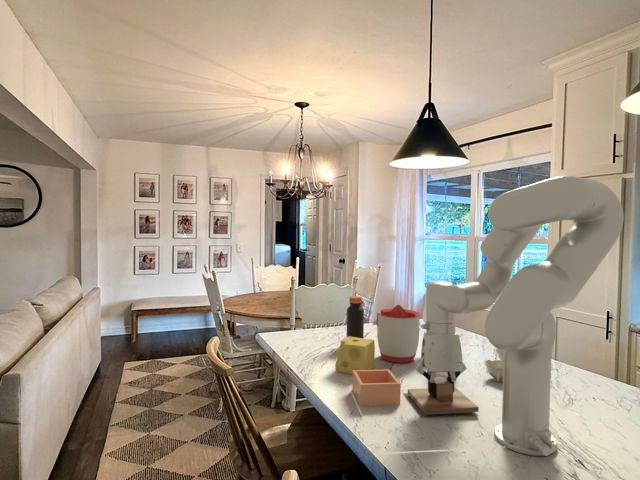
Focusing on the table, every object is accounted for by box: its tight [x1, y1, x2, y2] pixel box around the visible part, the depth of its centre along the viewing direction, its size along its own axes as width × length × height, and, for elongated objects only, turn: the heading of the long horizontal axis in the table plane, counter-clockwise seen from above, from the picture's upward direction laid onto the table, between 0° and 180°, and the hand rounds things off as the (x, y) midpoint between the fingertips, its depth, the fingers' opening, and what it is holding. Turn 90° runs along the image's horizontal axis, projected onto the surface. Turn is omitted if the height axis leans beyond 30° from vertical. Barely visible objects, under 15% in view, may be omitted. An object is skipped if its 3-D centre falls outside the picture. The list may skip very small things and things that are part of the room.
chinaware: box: [484, 347, 505, 383], centre depth 135 cm, size 28×17×17 cm, turn 150°
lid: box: [407, 376, 480, 415], centre depth 110 cm, size 14×14×6 cm
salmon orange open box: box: [351, 369, 402, 407], centre depth 115 cm, size 11×11×6 cm
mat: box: [403, 392, 479, 419], centre depth 111 cm, size 15×15×1 cm
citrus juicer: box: [372, 304, 421, 364], centre depth 150 cm, size 16×17×20 cm
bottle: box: [346, 295, 365, 338], centre depth 165 cm, size 7×7×20 cm
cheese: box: [334, 336, 376, 375], centre depth 137 cm, size 10×11×10 cm
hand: (441, 394), depth 110 cm, fingers closed on lid, 4 cm apart
